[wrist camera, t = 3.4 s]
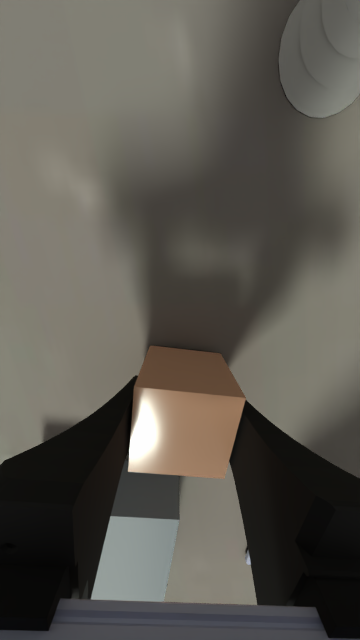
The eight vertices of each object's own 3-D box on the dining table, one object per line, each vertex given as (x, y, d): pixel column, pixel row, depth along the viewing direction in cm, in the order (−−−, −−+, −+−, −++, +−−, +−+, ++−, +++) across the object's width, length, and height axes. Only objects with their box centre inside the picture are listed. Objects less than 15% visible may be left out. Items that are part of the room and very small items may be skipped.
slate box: (178, 458, 15) (179, 519, 12) (165, 540, 18) (162, 610, 15) (45, 448, 15) (-1, 510, 11) (53, 534, 18) (19, 607, 14)
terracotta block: (220, 353, 12) (245, 397, 7) (208, 411, 13) (224, 478, 9) (150, 345, 12) (133, 386, 7) (144, 405, 13) (127, 471, 8)
